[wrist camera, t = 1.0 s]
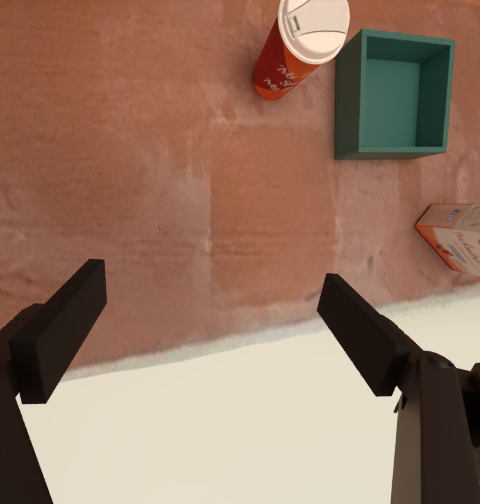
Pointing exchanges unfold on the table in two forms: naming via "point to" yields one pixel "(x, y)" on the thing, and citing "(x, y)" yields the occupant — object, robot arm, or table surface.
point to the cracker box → (454, 234)
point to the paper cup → (299, 43)
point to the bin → (392, 96)
